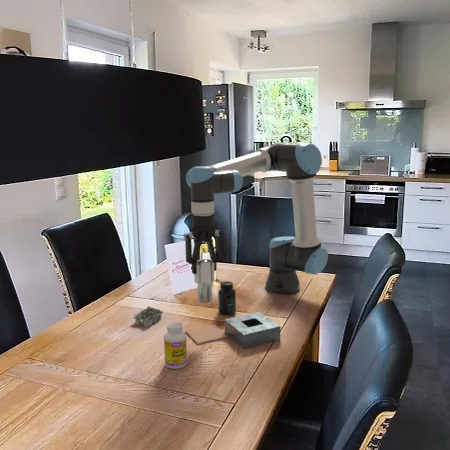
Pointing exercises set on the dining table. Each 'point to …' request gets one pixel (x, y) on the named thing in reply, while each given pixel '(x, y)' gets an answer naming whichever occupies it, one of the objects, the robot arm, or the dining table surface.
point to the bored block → (252, 330)
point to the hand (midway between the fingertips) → (204, 281)
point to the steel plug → (205, 281)
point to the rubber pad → (206, 334)
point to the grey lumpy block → (152, 316)
